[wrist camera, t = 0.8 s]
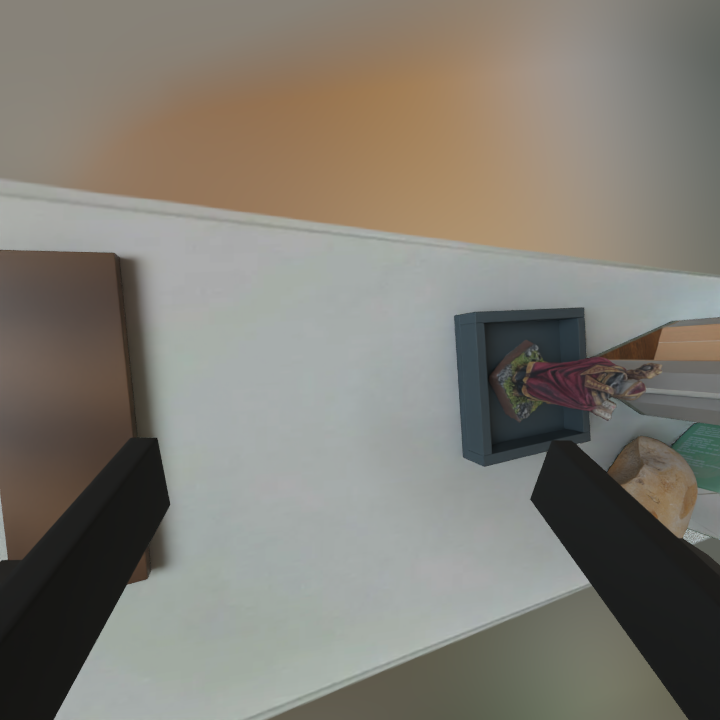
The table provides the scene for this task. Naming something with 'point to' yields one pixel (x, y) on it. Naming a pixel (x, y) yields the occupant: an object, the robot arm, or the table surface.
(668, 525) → the stone
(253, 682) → the table surface
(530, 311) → the dark grey square tray
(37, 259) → the board
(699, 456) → the box
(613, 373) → the figurine
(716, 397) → the cabinet
